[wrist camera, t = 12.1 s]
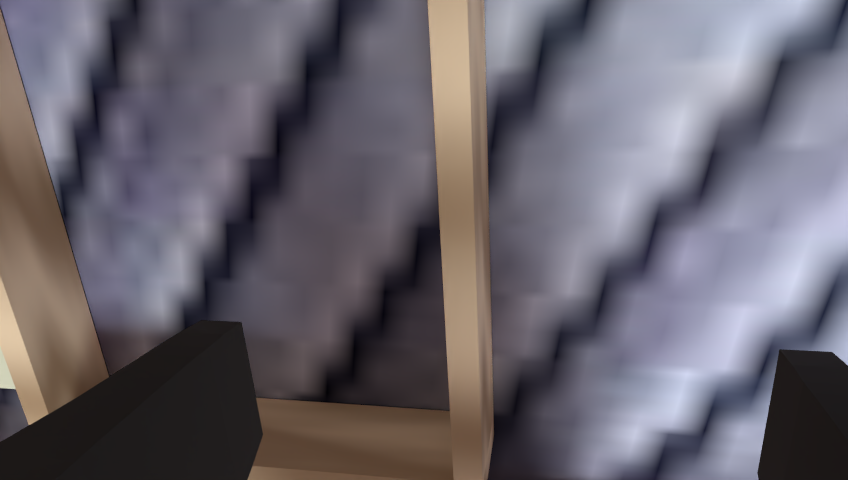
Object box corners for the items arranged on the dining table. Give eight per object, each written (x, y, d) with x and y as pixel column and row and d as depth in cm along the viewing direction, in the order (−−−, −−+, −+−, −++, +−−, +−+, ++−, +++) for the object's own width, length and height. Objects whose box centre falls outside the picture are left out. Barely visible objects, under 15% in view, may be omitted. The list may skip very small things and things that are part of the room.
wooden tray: (494, 434, 24) (483, 506, 22) (96, 405, 27) (44, 467, 24) (478, -220, 16) (460, -228, 14) (-84, -176, 19) (-191, -176, 16)
